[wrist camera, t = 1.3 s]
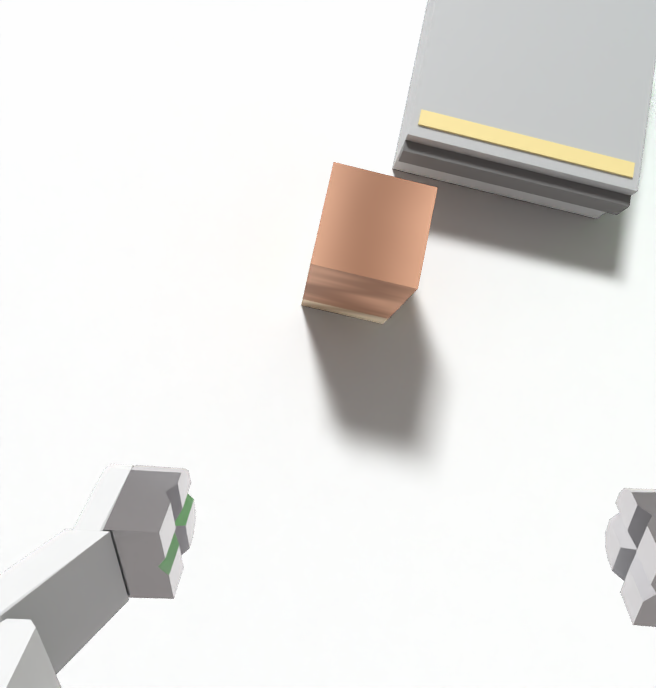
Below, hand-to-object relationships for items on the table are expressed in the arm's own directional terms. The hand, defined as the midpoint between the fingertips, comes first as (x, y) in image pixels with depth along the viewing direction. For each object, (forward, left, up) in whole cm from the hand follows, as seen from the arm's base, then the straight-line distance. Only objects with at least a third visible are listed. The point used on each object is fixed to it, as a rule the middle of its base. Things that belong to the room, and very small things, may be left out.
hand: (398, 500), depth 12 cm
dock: (+7, +22, -20) cm, 31 cm away
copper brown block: (0, +10, -20) cm, 23 cm away
